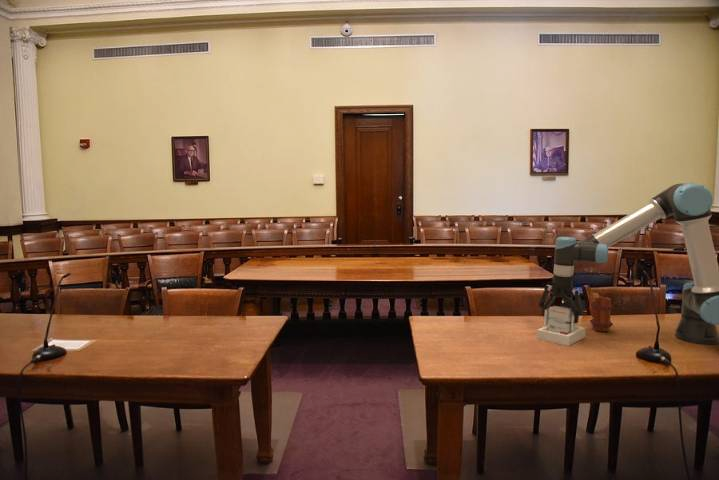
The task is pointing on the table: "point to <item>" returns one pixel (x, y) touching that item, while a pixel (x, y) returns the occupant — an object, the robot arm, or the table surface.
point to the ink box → (560, 320)
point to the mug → (600, 312)
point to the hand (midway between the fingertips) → (559, 327)
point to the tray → (561, 336)
